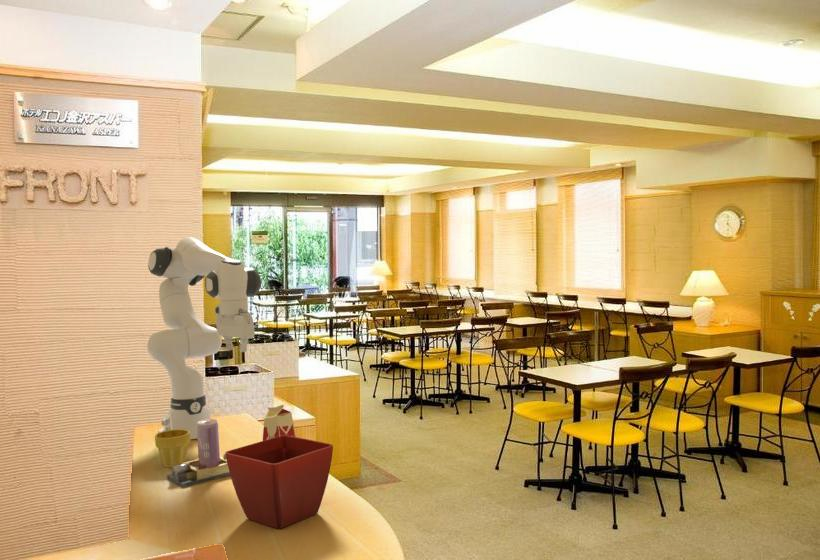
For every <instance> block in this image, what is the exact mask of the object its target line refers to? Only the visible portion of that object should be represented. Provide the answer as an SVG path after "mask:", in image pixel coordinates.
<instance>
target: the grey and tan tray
mask: <svg viewBox="0 0 820 560" xmlns="http://www.w3.org/2000/svg"><path fill="white" fill-rule="evenodd" d="M171 469H172V471H171V473H169V474H167V475H166V479H168V480H169V481H171V482H173V483H174V484H175V485H178V486H180V487H181V488H186V487H190V486H195V485H199V484H202V483H206V482H210V481H213V480H218V479H221V478H225V477H228V476H230V472H229V468H228V464H227V459H226V454H225V453H224V454H223V455H220V465H216V466H212V467H208V468H204V469H200V470H199V458H197V459H193V460H189V461H185V462H184V463H181V465H176V466H173V467H171Z"/></svg>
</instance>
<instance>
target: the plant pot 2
mask: <svg viewBox="0 0 820 560" xmlns="http://www.w3.org/2000/svg"><path fill="white" fill-rule="evenodd" d="M333 451H334V444H332V443H327V442H323V441H317V440H314V439H308V438H303V437H297V436H296V437H293V436H288V435H282V436H279V437H275V438H271V439H268V440H264V441H263V440H261V441H258V442H254V443H251V444H248V445H244V446H240V447H237V448H234V449H230V450H227V451H225V452H224V454H226V459H227V464H228V468H229V472H230V475H229V476H230V479H231V482H232V485H233V488H234V491H235V494H236V496H237V499H238V502H239V505H240V506H241V508H242V511H243V513H244V515H245V517H246V519H248V520H250V521H251V520H252V522H253V521H255V522H257V523H259V524H262V525H266V526H268V527H272V528H274V529H279V530H280V529H283V528H285V527H288V526H290V525H292V524H295V523H297V522H299V521H303V520H305V519H307V518H310V517H312V516H314V515H316V514H318V513H319V510H320V507H321V505H322V501H323V498H324V494H325V492H326V491H325V490H326V488H327V483H328V481H329V476H330V472H331V464H332V459H333Z"/></svg>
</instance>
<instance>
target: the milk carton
mask: <svg viewBox="0 0 820 560" xmlns="http://www.w3.org/2000/svg"><path fill="white" fill-rule="evenodd" d="M284 406H285V404H280V405H278V406H273V407H266V408H267V410H268V411H267V412H266V415H265V417H264V418H263V419H264V421H263V431H262V441H264V440H268V439H271V438H275V437H279V436H282V435H288V436H293V437H297V435H296V430H295V425H294V420H293V419H294V418H293V416H292V415H293V414H292V412H291V411H290V410H288V409H285V408H284Z"/></svg>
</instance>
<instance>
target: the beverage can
mask: <svg viewBox="0 0 820 560" xmlns="http://www.w3.org/2000/svg"><path fill="white" fill-rule="evenodd" d="M219 433H220V432H219V423H218V420H217V419H213V418H211V419H208V420H202V421H199V422H198V423H197V438H196V439H197V452H198V453H197V456H198V457H197V458H198V459H199V470H200V469H204V468H208V467H212V466H216V465H220V456H221V455H220V436H219Z"/></svg>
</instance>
